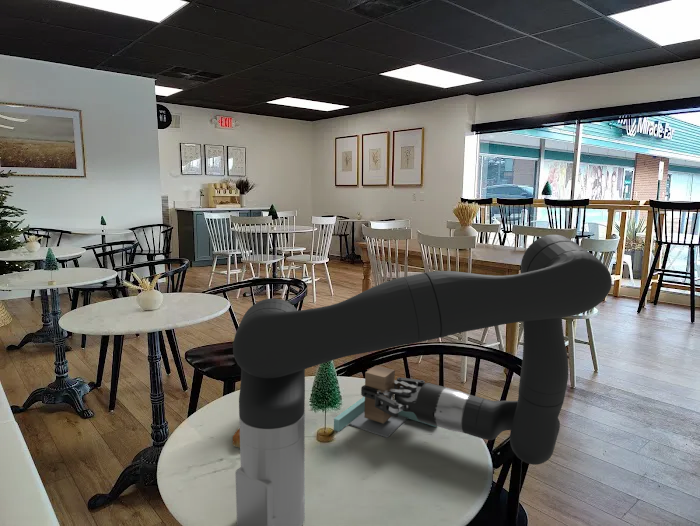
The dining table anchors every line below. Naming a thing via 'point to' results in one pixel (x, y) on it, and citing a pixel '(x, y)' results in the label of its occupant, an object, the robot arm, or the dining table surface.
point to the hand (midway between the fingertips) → (368, 386)
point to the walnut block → (381, 381)
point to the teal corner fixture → (357, 420)
